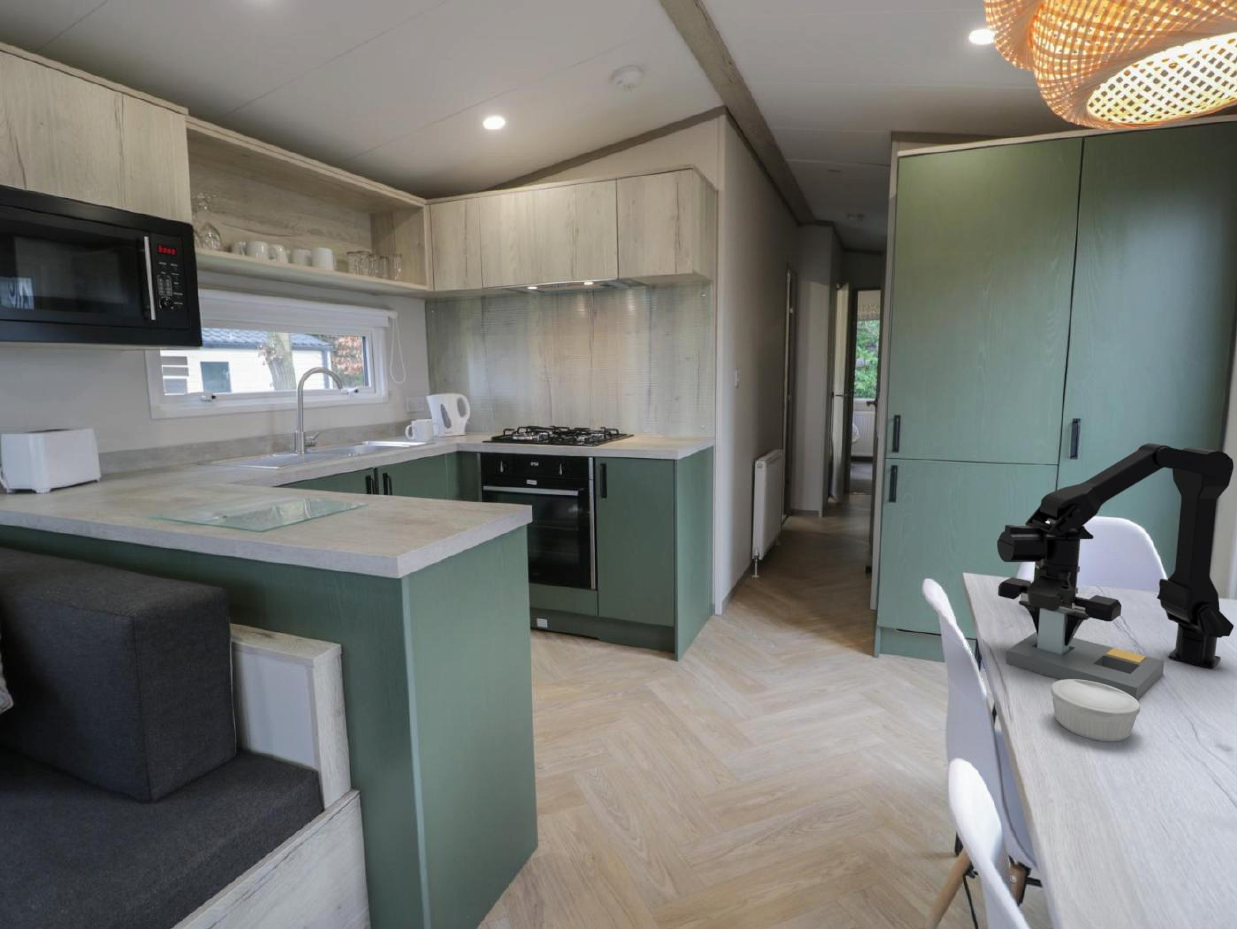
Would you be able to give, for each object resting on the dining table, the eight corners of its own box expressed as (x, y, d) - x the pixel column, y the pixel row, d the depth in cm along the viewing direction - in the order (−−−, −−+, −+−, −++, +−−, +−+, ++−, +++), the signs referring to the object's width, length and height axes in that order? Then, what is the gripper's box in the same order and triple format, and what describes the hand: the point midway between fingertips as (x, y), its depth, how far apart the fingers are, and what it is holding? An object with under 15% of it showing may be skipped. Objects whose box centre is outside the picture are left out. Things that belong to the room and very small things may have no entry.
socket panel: (1039, 640, 138) (1040, 628, 137) (1162, 674, 122) (1164, 659, 122) (1005, 662, 128) (1006, 649, 127) (1135, 702, 112) (1137, 686, 112)
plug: (1044, 653, 132) (1048, 603, 130) (1068, 660, 128) (1072, 609, 127) (1036, 659, 129) (1040, 608, 128) (1060, 666, 126) (1064, 614, 125)
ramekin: (1135, 721, 107) (1138, 689, 106) (1139, 755, 97) (1142, 720, 97) (1050, 702, 113) (1052, 672, 112) (1047, 732, 104) (1049, 700, 103)
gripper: (987, 559, 128) (982, 638, 131) (1104, 582, 114) (1096, 670, 116) (1012, 548, 135) (1007, 624, 137) (1125, 569, 121) (1118, 653, 123)
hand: (1053, 641), depth 128 cm, fingers closed on plug, 4 cm apart
